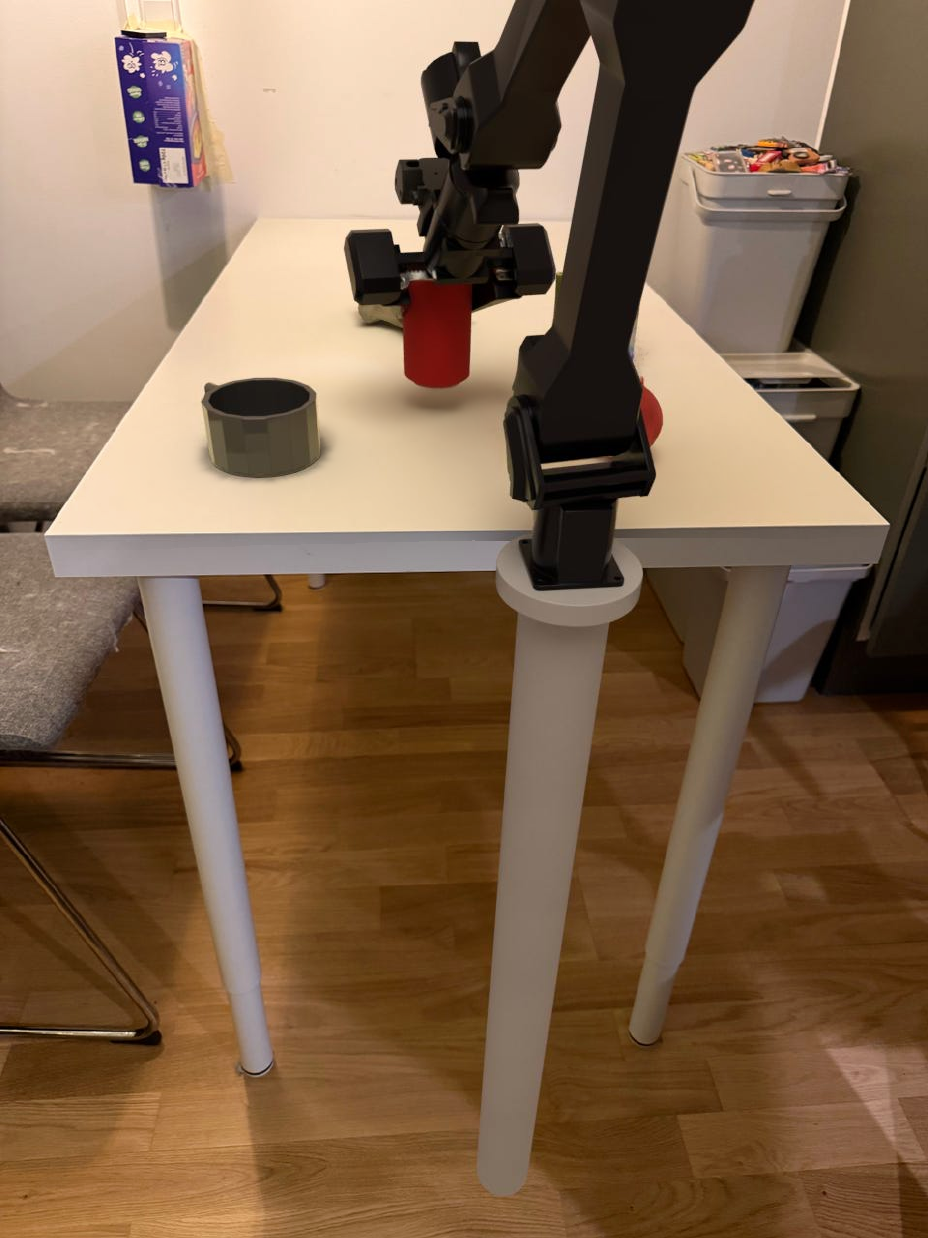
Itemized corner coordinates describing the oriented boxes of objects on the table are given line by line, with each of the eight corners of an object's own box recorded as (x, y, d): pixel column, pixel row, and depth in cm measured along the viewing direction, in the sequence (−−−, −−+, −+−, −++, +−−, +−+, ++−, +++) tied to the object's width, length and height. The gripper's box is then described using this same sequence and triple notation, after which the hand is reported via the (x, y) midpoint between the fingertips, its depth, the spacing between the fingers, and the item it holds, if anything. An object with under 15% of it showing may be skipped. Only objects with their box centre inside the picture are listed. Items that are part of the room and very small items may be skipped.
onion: (587, 464, 81) (596, 380, 77) (602, 441, 86) (613, 360, 81) (649, 476, 80) (663, 390, 75) (662, 452, 84) (675, 370, 80)
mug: (342, 452, 83) (339, 396, 79) (258, 488, 76) (251, 428, 73) (253, 416, 89) (247, 362, 86) (169, 445, 83) (159, 389, 80)
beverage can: (473, 372, 93) (476, 251, 86) (465, 394, 87) (468, 267, 80) (409, 368, 93) (408, 247, 86) (398, 390, 88) (395, 263, 81)
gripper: (554, 124, 76) (505, 235, 91) (341, 125, 71) (326, 242, 86) (582, 240, 75) (527, 333, 89) (366, 249, 70) (346, 346, 85)
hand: (433, 311), depth 87 cm, fingers closed on beverage can, 7 cm apart
